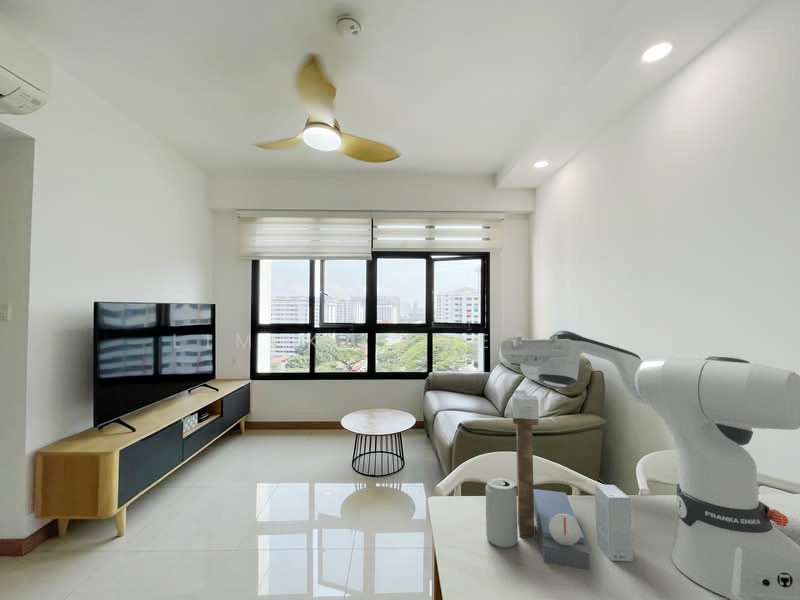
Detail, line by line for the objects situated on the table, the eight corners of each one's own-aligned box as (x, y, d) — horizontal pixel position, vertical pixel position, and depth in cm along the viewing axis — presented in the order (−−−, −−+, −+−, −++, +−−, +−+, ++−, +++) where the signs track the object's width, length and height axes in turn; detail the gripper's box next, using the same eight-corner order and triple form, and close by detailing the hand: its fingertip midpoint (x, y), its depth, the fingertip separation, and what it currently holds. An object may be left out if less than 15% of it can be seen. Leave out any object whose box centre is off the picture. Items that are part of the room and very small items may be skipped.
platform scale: (566, 509, 88) (566, 472, 88) (589, 569, 67) (588, 521, 67) (532, 505, 90) (531, 469, 90) (544, 562, 69) (543, 515, 69)
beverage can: (519, 552, 72) (518, 490, 72) (486, 548, 73) (485, 487, 74) (515, 533, 78) (514, 477, 79) (485, 530, 79) (484, 474, 80)
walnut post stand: (536, 522, 82) (533, 408, 84) (540, 546, 74) (538, 418, 75) (513, 519, 84) (511, 406, 85) (515, 542, 75) (513, 416, 76)
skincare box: (633, 562, 69) (631, 498, 69) (610, 561, 69) (608, 497, 70) (616, 542, 75) (614, 484, 75) (595, 542, 75) (593, 483, 76)
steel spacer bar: (530, 400, 92) (529, 384, 92) (538, 419, 74) (538, 400, 74) (509, 399, 93) (509, 383, 93) (513, 417, 75) (513, 398, 76)
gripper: (571, 364, 108) (578, 349, 96) (501, 364, 114) (500, 349, 102) (569, 345, 111) (575, 327, 99) (501, 345, 117) (499, 329, 105)
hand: (536, 338), depth 101 cm, fingers open, 8 cm apart
